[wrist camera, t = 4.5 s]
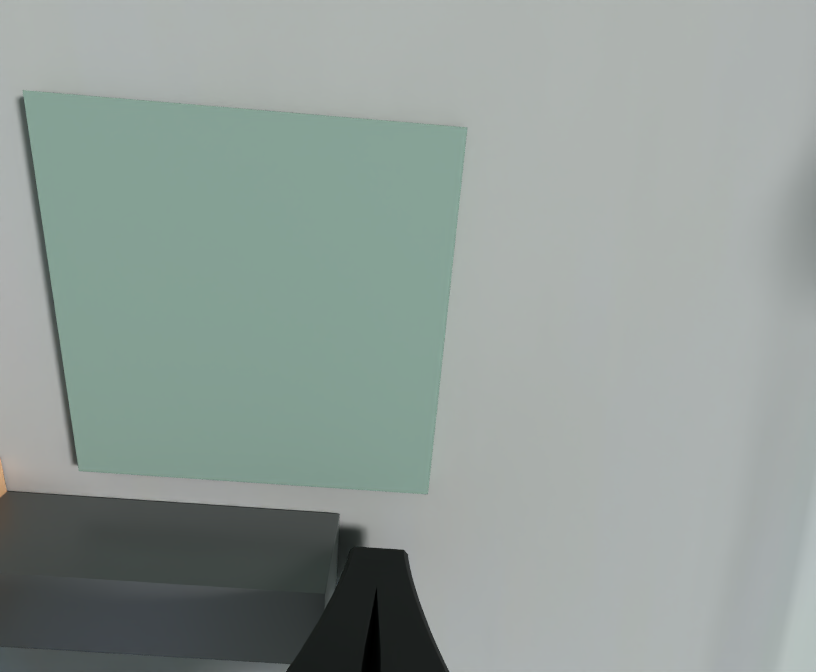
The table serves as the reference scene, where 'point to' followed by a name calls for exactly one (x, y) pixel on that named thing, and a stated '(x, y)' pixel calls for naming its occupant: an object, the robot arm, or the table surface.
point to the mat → (248, 288)
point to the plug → (162, 577)
